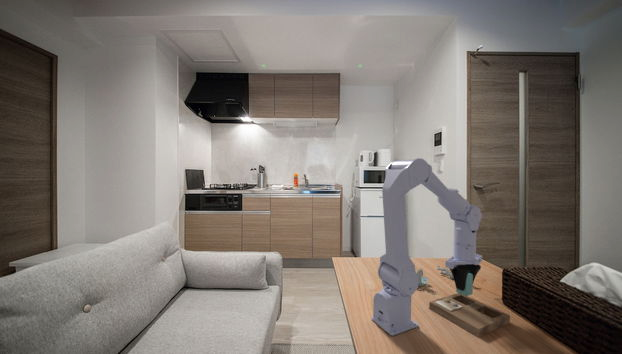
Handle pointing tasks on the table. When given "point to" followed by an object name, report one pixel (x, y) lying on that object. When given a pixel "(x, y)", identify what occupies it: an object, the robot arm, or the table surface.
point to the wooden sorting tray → (469, 314)
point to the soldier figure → (445, 272)
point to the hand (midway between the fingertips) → (463, 288)
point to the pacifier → (421, 278)
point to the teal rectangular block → (467, 286)
